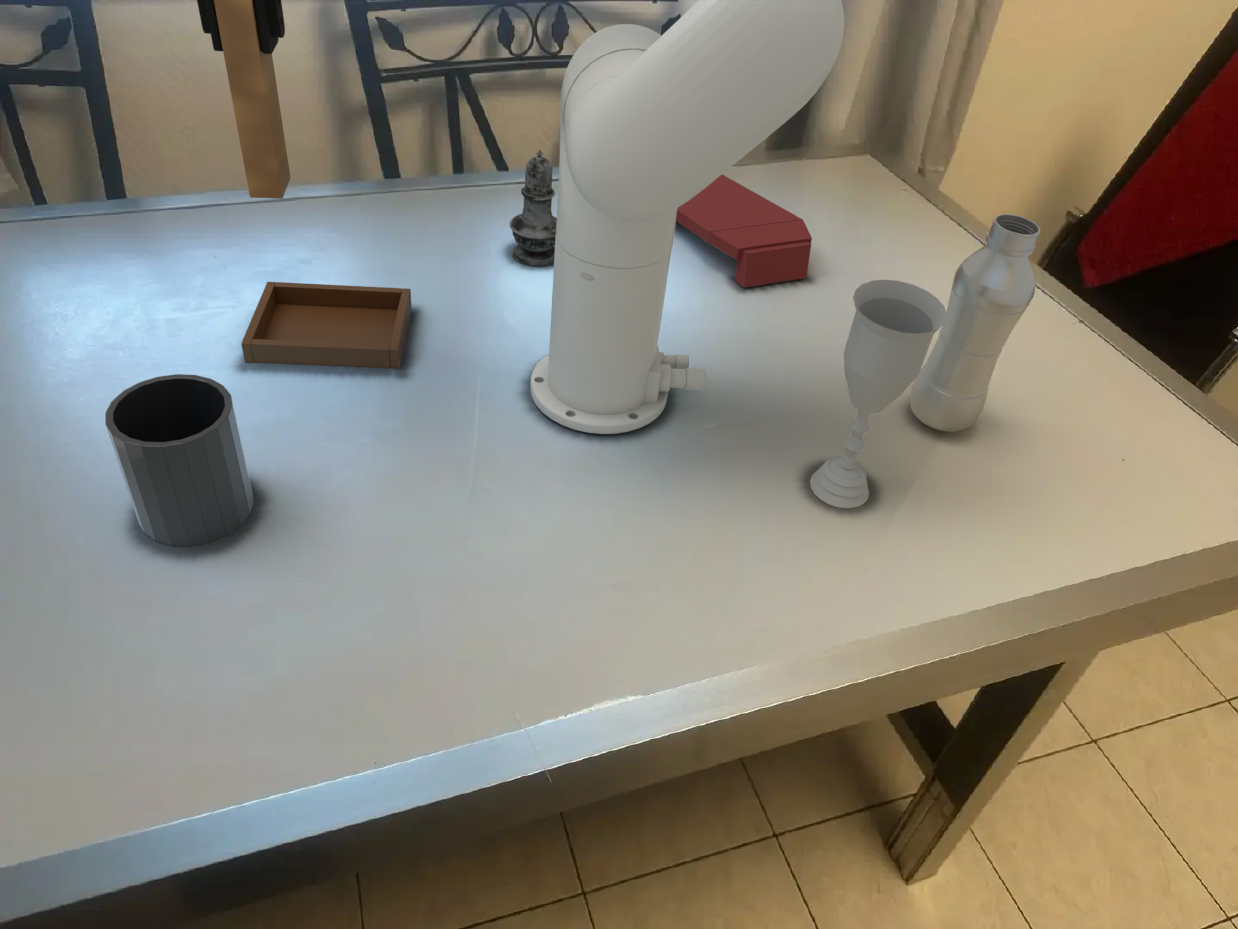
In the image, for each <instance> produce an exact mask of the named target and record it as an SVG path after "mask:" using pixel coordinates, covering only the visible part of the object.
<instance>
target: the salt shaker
mask: <svg viewBox="0 0 1238 929" xmlns="http://www.w3.org/2000/svg"><path fill="white" fill-rule="evenodd" d="M535 155H536V156H534V157H532V158H529V159H528V160H527V161H526V163H525V169H524V170H525V172H524V186H523V187H522V188H521V190H520V194H521V196H522V197H523V208H522V212H521V213H519V214H517V215H515V216H514V217H512V218H511V219H510V221H509V229H510V230H511V231H512V236H513V239H514V240H515V242H516V245H515V246H514V247H513V248H512V249H511V257H512V258H513V260H515V261H516V262H518V263H520V264H522V265H525V266H529V267H547V266H550V265H554V254H555V236H556V225H557V216H554V215H553V212H552V200H553V198H554V197H555V195H556V192H555V190H554V189H553V188H552V185H553V170H554V169H553V163H552V162H551V161H550V160H549V159H548V158H545V157H544V156H543V155H544V152H542V150H541V149H539V150H538V151H537V152H536V154H535Z"/></svg>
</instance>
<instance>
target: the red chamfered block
mask: <svg viewBox="0 0 1238 929" xmlns="http://www.w3.org/2000/svg"><path fill="white" fill-rule="evenodd" d="M676 223H678V224H680V226H682V227H684V228H686V230H689V231H690V232H691V233H693V234H694V235H696V236H697V237H699V238H700V239H701V240H703V241H704V242H705V243H708V244H709V245H711V246H712V247H714V248H716V249H718V250H719V251H721V252H723V253H724V254H726V255H728V256H729V257H731V258H733V259H734V260H736V265H735V275H734V281H735V282H736V283H737V284H738V285H740V286H741V287H743V288H750V287H751V288H752V287H755V286H763V285H768V284H769V285H770V284H776V283H781V282H782V283H783V282H787V281H795V280H802V279H806V278H807V277H808V269H809V263H810V257H811V256H810V254H811V249H812V240H813V237H812V235H811V233H810V231H809V229H808V227H807V225H806V223H805V221H804V219H802V218H801V217H799V216H798V215H796V214H794V213H792V212H790V211H789V210H787V209H785V208H783V207H781V206H780V205H778V204H776V203H775V202H772V201H771V200H769V199H767V198H766V197H764V196H762V195H761V194H758V193H756V191H755V192H754V191H753V190H751V189H749V188H748V187H746V186H745V185H742V184H740V183H739V182H737V181H735V180H734V179H732V178H729V177H728V176H726V175H724V173H723V174H722V175H721V176H719V177H718V178H717V179H716V180H715V181H713V182H712V183H711V184H710V185H708V186H707V187H706V188H705V189H703V190H702V191H701V192H700V193H698V194H697V195H696V196H694V197H693V198H692V199H690V200H689V201H687V202H686V203H684V204H683V205H681V206H679V207H678V208H677V215H676Z"/></svg>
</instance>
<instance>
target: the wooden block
mask: <svg viewBox="0 0 1238 929" xmlns="http://www.w3.org/2000/svg"><path fill="white" fill-rule="evenodd" d="M214 4H215V10H216V15H217V20H218V26H219V31H220V37H221V42H222V48H223V51H222V52H223V58H224V64H225V70H226V74H227V75H226V76H227V80H228V85H229V91H230V96H231V97H230V98H231V102H232V107H233V113H234V119H235V124H236V130H237V135H238V140H239V146H240V151H241V156H242V162H243V168H244V173H245V179H246V184H247V189H248V194H249V198H251V199H253V198H254V199H277V200H278V199H280V200H281V199H282V200H283V198H284V196H285V193H286V191H287V188H288V186H289V183H290V180H291V172H290V165H289V159H288V152H287V145H286V138H285V132H284V125H283V119H282V112H281V104H280V98H279V92H278V85H277V77H276V72H275V65H274V59H273V53H272V54H263V52H261V50H260V44H259V38H258V32H257V25H256V19H255V13H254V6H253V0H214Z"/></svg>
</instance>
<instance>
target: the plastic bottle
mask: <svg viewBox="0 0 1238 929" xmlns="http://www.w3.org/2000/svg"><path fill="white" fill-rule="evenodd" d="M990 225H991V226H990V229H989V230H988V231H987V233H986V235H985V238H984V239H985V242H986V244H985V245H983V246H982V247H980V248H979V249H977V250H975V251H974V252H973V253H971V254H970V255H969V256H968V257H966V258H965V259H964V260H962V262H961V263H960V265H959V266H958V267H957V268H956V270H955V272H954V276H953V280H952V284H951V285H952V286H951V289H950V293H949V297H948V298H949V299H948V303H947V308H946V312H947V318H946V322H945V323H944V324H943V325H942V326H941V328H940V329H939V334H938V336H937V340H936V341H935V343H934V345H933V347H932V349H931V350H930V353H929V356H928V357H927V359H926V361H925V363H924V364H923V365H922V367H921V370H920V373H919V375H918V376H917V377H916V378H915V379H914V381H913V382H912V383H911V386H910V391H909V392H910V393H909V397H908V398H909V399H908V402H909V406H910V409H911V412H912V414H913V415H914V417H915V418H916V419H918V420H919V421H920V422H921V423H923V424H924V425H925V426H927V427H929V428H932V429H934V430H937V431H940V432H947V433H956V432H960V431H964V430H965V429H967V428H969V427H971V426H973V425H974V424H975V423H976V421H977V420H978V418H979V417H980V416H981V414H982V413H983V411H984V408H985V404H986V401H987V397H988V394H989V385H990V382H991V379H992V376H993V373H994V371H995V367H996V365H997V361H998V359H999V356H1000V355H1001V353H1002V351H1003V348H1004V347H1005V345H1006V343H1007V341H1008V339H1009V337H1010V335H1011V334H1012V332H1013V330H1014V328H1015V327H1016V325H1017V324H1018V322H1019V321H1020V320H1021V318H1022V316H1023V315H1024V313H1025V312H1026V310H1027V308H1028V307H1029V306H1030V303H1031V302H1032V300H1033V298H1034V296H1035V292H1036V277H1035V274H1034V269H1033V267H1032V264H1031V262H1030V261H1031V260H1030V259H1029V257H1030V256H1031V255H1033V254H1034V253H1035V250H1036V247H1037V245H1036V244H1037V242H1038V239H1039V236H1040V234H1041V228H1040V226H1039V225H1038V224H1037V223H1036V222H1034V221H1032V220H1031V219H1028V218H1027V217H1023V216H1020V215H1017V214H1009V213H1001V214H998V215H996V216H995V217H994V218H993V220H992V223H991V224H990Z"/></svg>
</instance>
